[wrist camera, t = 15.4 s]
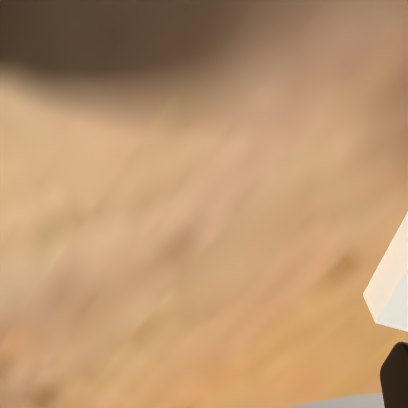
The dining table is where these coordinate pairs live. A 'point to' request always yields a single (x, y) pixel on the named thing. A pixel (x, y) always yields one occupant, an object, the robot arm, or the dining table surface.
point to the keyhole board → (391, 283)
